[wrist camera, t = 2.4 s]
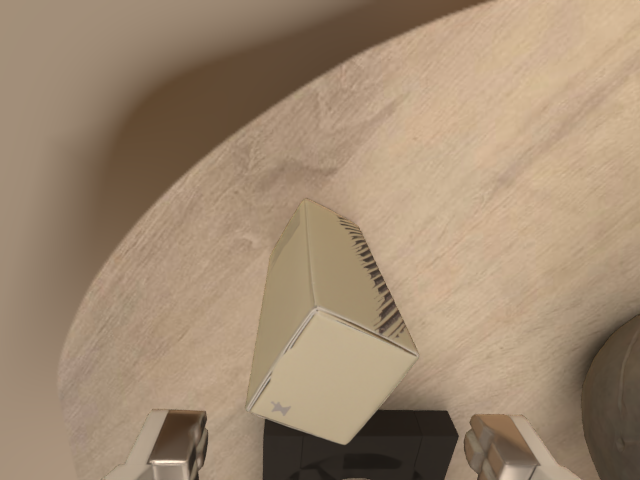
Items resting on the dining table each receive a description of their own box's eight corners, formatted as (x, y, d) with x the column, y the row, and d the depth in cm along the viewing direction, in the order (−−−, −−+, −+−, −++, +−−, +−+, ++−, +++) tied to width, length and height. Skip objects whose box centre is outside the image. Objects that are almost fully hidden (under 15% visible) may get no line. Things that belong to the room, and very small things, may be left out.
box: (322, 282, 25) (344, 455, 13) (267, 255, 24) (237, 419, 12) (362, 221, 23) (428, 359, 12) (305, 190, 22) (313, 307, 10)
